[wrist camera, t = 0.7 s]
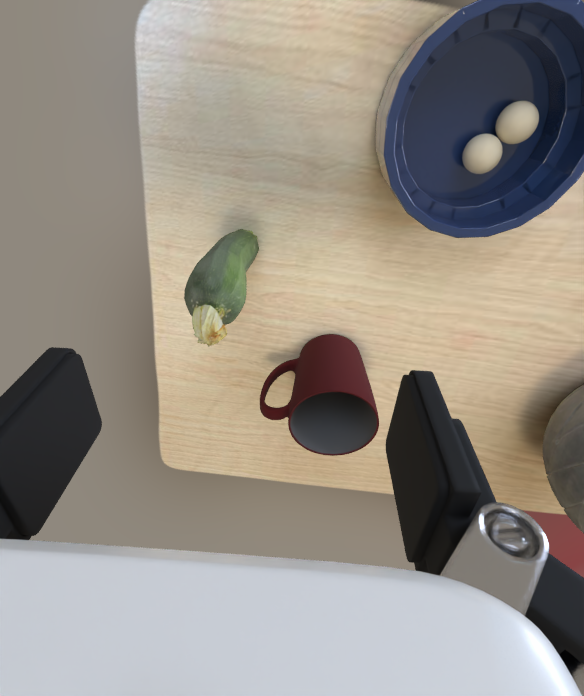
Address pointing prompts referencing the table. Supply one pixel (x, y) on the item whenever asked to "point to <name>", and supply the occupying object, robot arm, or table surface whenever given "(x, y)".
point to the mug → (327, 398)
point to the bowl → (567, 455)
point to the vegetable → (220, 285)
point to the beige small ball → (517, 122)
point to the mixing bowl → (485, 115)
